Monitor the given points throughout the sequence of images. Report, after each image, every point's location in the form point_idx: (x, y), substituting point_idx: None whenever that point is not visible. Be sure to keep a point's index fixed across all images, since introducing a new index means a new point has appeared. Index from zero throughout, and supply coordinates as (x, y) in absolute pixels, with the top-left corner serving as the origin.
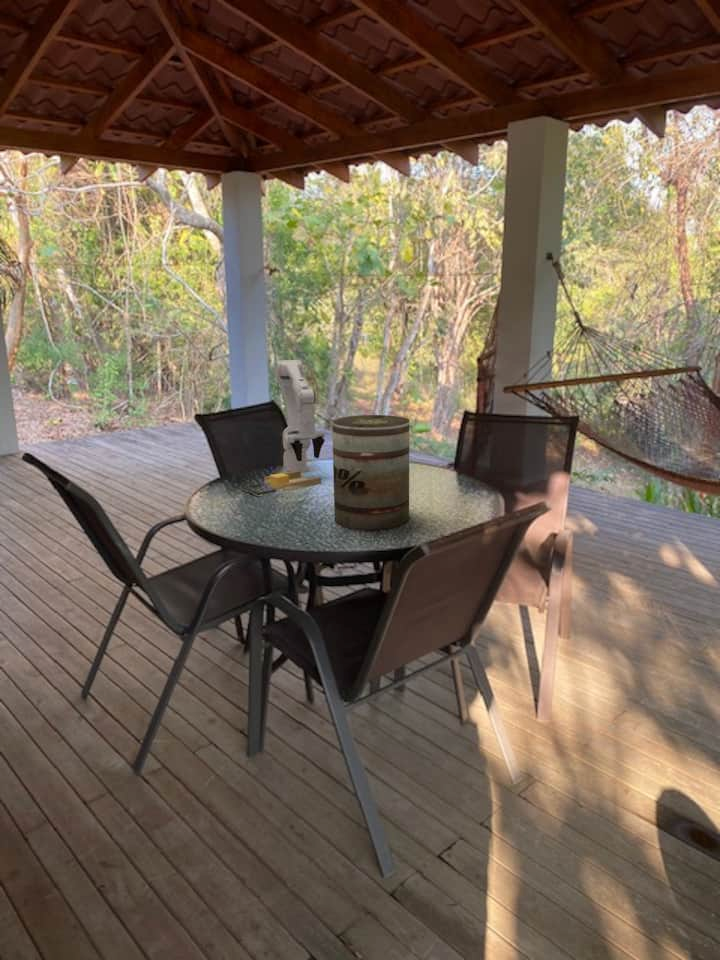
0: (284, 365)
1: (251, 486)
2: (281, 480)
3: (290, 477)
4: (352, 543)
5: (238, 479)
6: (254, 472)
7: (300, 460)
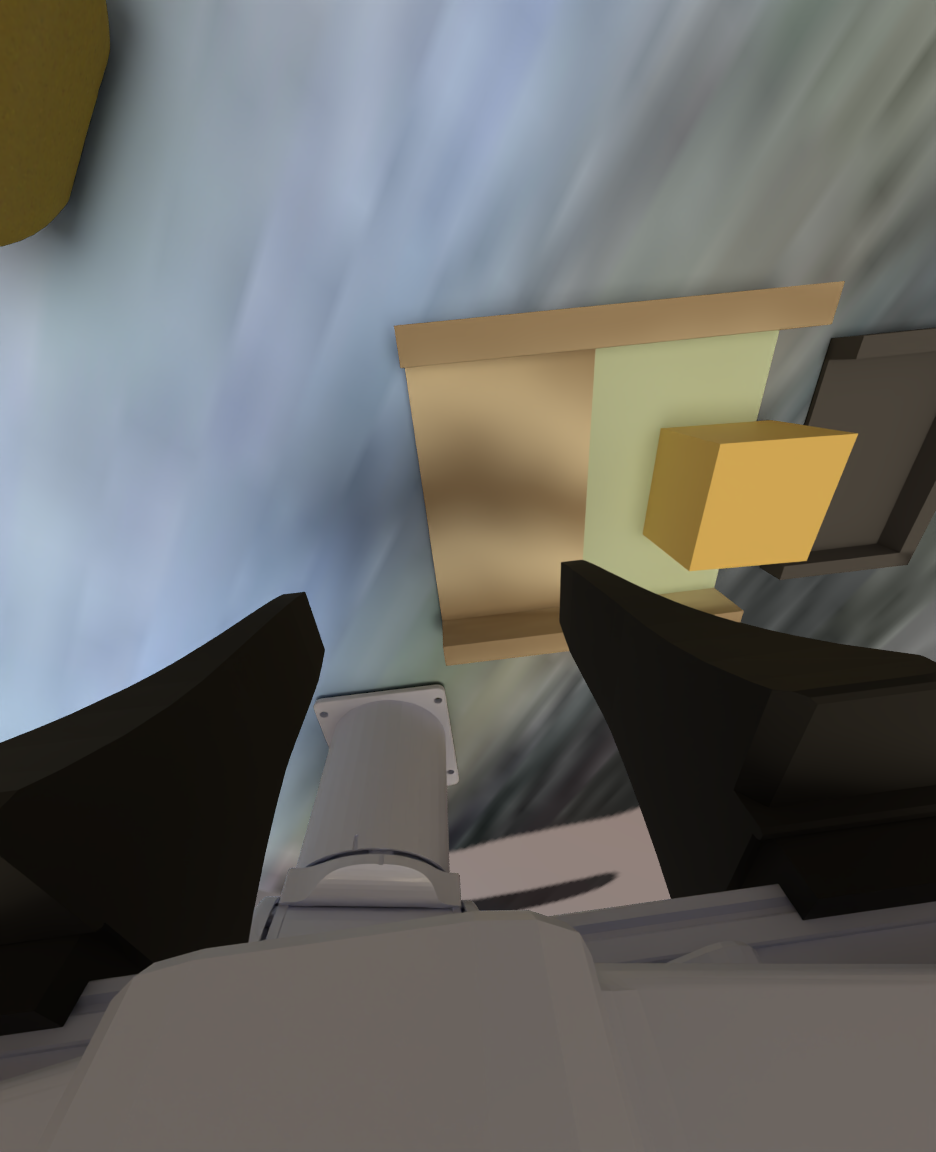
0: None
1: (851, 555)
2: (777, 432)
3: (528, 616)
4: None
5: None
6: (568, 812)
7: (583, 561)
